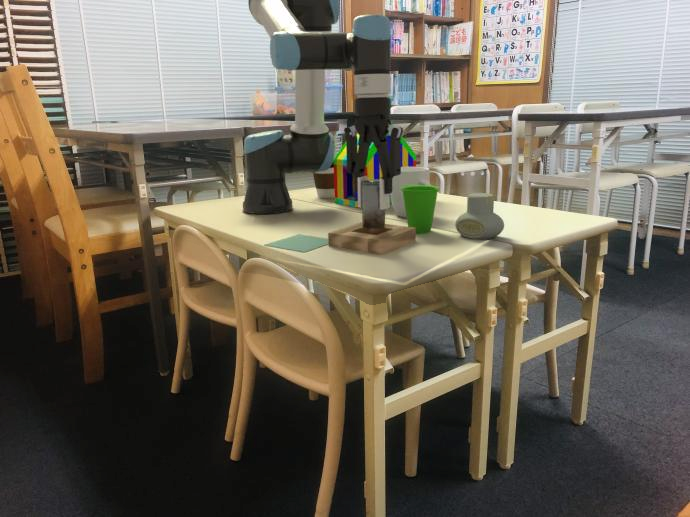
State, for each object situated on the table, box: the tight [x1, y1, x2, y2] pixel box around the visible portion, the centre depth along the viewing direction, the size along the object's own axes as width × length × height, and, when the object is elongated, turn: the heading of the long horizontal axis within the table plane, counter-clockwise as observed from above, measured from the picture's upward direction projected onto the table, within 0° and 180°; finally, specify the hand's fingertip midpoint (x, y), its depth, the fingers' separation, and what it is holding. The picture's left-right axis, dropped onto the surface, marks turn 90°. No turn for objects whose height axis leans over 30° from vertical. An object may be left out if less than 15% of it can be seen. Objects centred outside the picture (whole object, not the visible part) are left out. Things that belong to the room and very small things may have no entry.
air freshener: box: [454, 192, 505, 240], centre depth 126 cm, size 11×8×10 cm
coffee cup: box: [312, 159, 335, 199], centre depth 187 cm, size 11×11×12 cm
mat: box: [263, 233, 329, 253], centre depth 124 cm, size 12×12×1 cm
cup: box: [401, 185, 440, 234], centre depth 131 cm, size 9×9×11 cm
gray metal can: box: [361, 179, 386, 229], centre depth 120 cm, size 5×5×10 cm
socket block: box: [327, 221, 417, 256], centre depth 122 cm, size 14×14×4 cm
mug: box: [390, 166, 432, 219], centre depth 150 cm, size 15×11×13 cm
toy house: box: [333, 122, 417, 208], centre depth 176 cm, size 24×14×25 cm, turn 133°
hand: (373, 207), depth 120 cm, fingers closed on gray metal can, 5 cm apart
